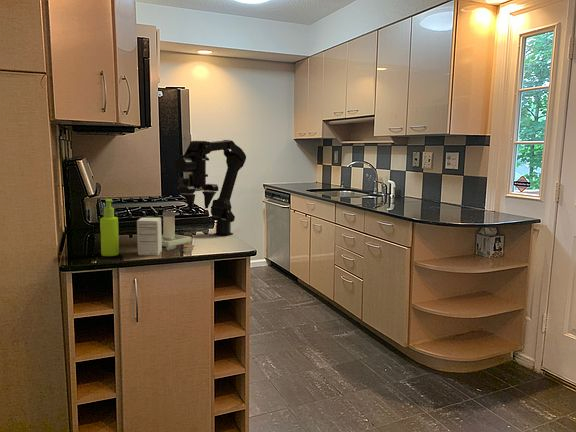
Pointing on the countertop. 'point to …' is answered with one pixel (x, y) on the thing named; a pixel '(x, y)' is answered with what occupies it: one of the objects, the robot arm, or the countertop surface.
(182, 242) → the tray
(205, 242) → the countertop surface
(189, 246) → the blocks
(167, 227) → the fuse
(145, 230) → the supplement box
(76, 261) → the countertop surface
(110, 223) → the soap dispenser
